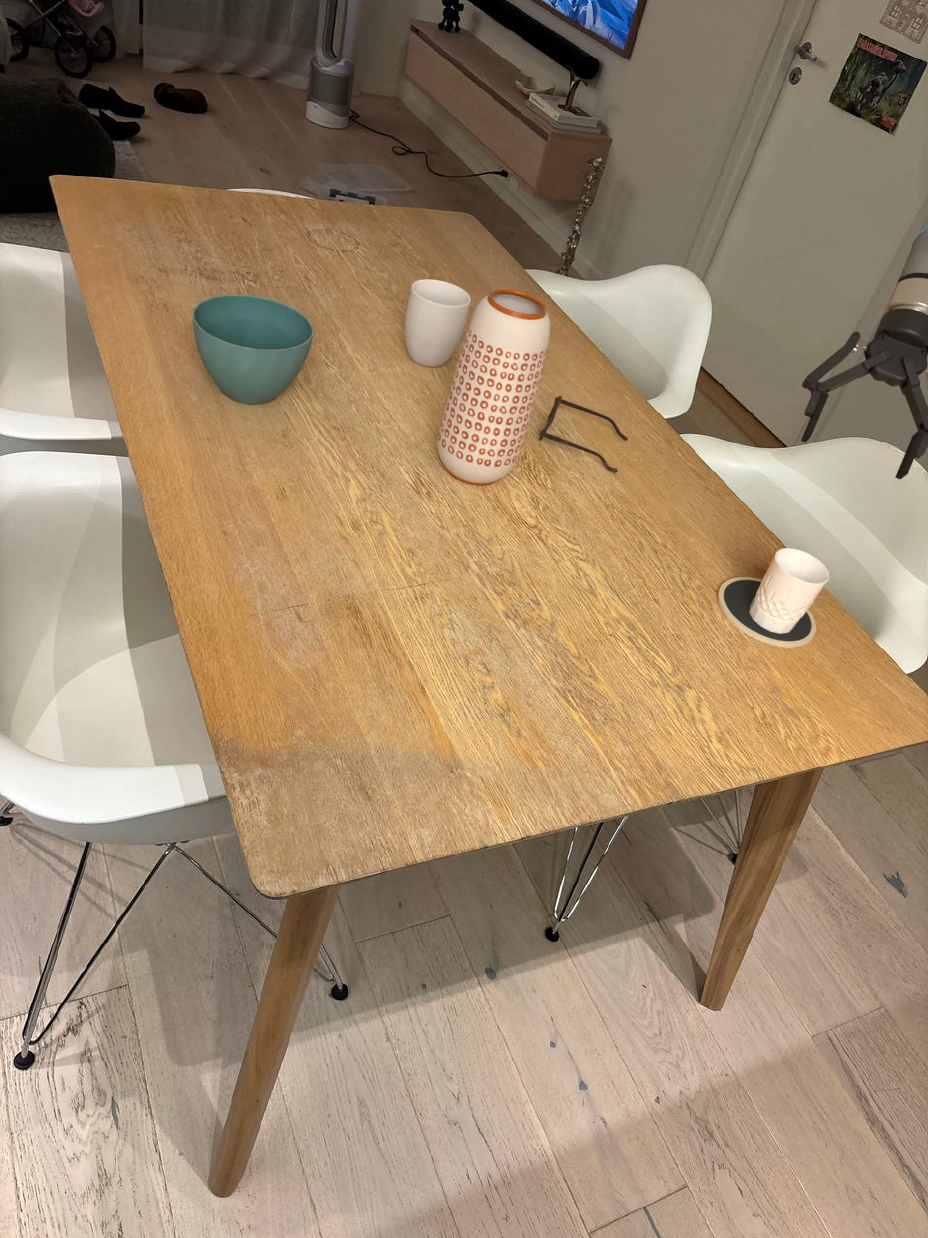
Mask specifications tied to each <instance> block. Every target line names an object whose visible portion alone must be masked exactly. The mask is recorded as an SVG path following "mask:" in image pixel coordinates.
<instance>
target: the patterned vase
mask: <svg viewBox="0 0 928 1238" xmlns="http://www.w3.org/2000/svg"><path fill="white" fill-rule="evenodd" d="M551 325H552V324H551V319H550V315H549V313H548V311H547V309H546V306H545V304H544V303H543V302H542V301H541V300H539V299H538V298H536V297H535V296H533V295H530V294H528V293H526V292H524V291H519V290H516V289H508V288H499V289H494V290H492V291H491V292H490V293H489V294H488V295H486V296H483V298H482V299H480V301H479V302H478V303H477V305H476V307H475V309H474V311H473V314H472V316H471V319H470V322H469V324H468V327H467V330H466V333H465V336H464V338H463V342H462V345H461V349H460V351H459V354H458V358H457V361H456V364H455V368H454V371H453V374H452V379H451V381H450V384H449V389H448V393H447V396H446V399H445V403H444V407H443V410H442V414H441V417H440V420H439V425H438V429H437V434H436V448H437V449H436V450H437V454H438V457H439V460H440V461H441V463H442V464H443V466H444V467H445V470H446V471H447V472H448V474H449V475H450V476H452V477H453V478H454V479H456V480H458V481H460V482H462V483H465V484H468V485H473V486H488V485H492V484H493V483H495V482H497V481H499V480H502V479H503V478H504V477H506V476H507V475H508V474H510V473H511V471H512V470H513V469H514V468H515V466H516V464H517V463H518V460H519V459H520V456H521V453H522V449H523V446H524V442H525V438H526V435H527V432H528V428H529V424H530V421H531V417H532V415H533V410H534V406H535V403H536V399H537V395H538V391H539V387H540V383H541V378H542V374H543V370H544V367H545V361H546V357H547V352H548V347H549V342H550V336H551V327H552V326H551Z"/></svg>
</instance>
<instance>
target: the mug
mask: <svg viewBox="0 0 928 1238" xmlns="http://www.w3.org/2000/svg"><path fill="white" fill-rule="evenodd" d="M407 301H408V302H407V305H406V311H405V319H404V340H405V341H404V342H405V347H406V350H407V353H408V356H409V358H410V359H411V360H412V361H413V362H414V363H416V364H418V365H420V366H424V367H428V368H440V367H442V366H443V365H445V364H446V363H447V362H448V361H449V360H450V359H451V358H452V356H453V355H454V353H455V351H456V349H457V348H458V346H459V344H460V340H461V339H462V336H463V332H464V330H465V326H466V324H467V320H468V314H469V310H470V306H471V301H472V298H471V296H470V294H469V293H468V292H467V291H466V290H465V289H463V288H462V287H460V286H458V285H455V284H453V283H451V282H447V281H443V280H439V279H430V278H429V279H427V278H426V279H419V280H416V281H414V282H413V283H412V284H411V287H410V292H409V297H408V300H407Z"/></svg>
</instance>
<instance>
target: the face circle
mask: <svg viewBox="0 0 928 1238" xmlns="http://www.w3.org/2000/svg"><path fill="white" fill-rule="evenodd" d="M762 579H763V578H757V577H751V576H737V577H732V578H729V579H727V580H725V581H724V582H723V583H722V584H721V585H720V587H719V589H718V591H717V604H718V606H719V609H720V611H721V612H722V613H723V615H724V616H725V618H726V619H727V620H728V621H729V622H730V623H731V624H732V625H733V626H735V627H736V628H737V629H738V630H740V631H741V632H742V633H744V634H745V635H747V636H749V637H750V638H752V639H754V640H757V641H759V642H761V643H764V644H766V645H770V646H772V647H776V648H785V649H795V648H801V647H803V646H806V645H808V644H809V643H811V641H812V640H813V638H814V637H815V636H816V633H817V622H816V619H815V617H814V615H813V614H812V612H811V610H810V609H809V608H808V610H807V611H806V612H805V614H804V615H803V616H802V618H800V619H799V621H798V622H797V624H796V625H795V627H794V628H793V629H792V630H791V631H790V632H789V633H783V634H779V633H774V632H770V631H768V630H766V629H764V628H762V627H761V626H759V625H758V624H757V623H756V622H755V621H754V620H753V619H752V617H751V615H750V613H749V611H750V605H751V603H752V601H753V599H754V598H755V596H756V593H757V590H758V588H759V586H760V584H761V581H762Z"/></svg>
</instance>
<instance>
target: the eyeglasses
mask: <svg viewBox="0 0 928 1238" xmlns="http://www.w3.org/2000/svg"><path fill="white" fill-rule="evenodd" d="M562 398H563V396H562V395H559V396H556V397H555V399H554V404H553V406H552V409H551V410H550V412H549V414H548V418H547V422H546V425H544V427H543V429H542V430H540V432H539V434H538V435H539V438H538V439H539V441H542V440H543V439H544V438H545V439H547V440H551V441H553V442H556V443H559V444H561V445H565V446H568V447H570V448H573V449H576V450H580V451H582V452H584V453H585V452H586V453H588V454H590V455H593V456H595V457H597V458H598V459H599V460H600V461H601V463H602V464H603V466H604V467H605V469H606V470H608V471H609V472H613V473H618V471H619V470H618V468H615V467H611V466H610V465H609V464H608V462H607V461H606V459H605V458H604V456H603V455H601V454H600V453H598V452H596V451H595V450H591V449H590V448H587V447H584V446H583V445H579V444H577V443H574V442H572V441H569V440H567V439H564V438H561V437H559V436H556V435H553V434H550V433H548V430H549V428H550V427H551V425H552V423H553V421H554V420H555V417H556V413H557V411H558V409H559V407H560V405H563V406H566V407H569V408H572V409H575V410H578V411H581V412H584V413H587V414H590V415H593V416H595V417H599V418H601V419H604V420H605V421H608V422H609V423H610V424H611V425H612V427H613V429H614V431H615V433H616V434H617V435H618V436H619V437H620V438H621V439H623V440H624V441H625V442H626V441H628V440H629V438H628V436H626V435H624V434H623V433H622V432H621V431H620V429H619V427H618V426H617V424H616V423H615V421H614V420H613V419H612V418H610V417H609V416H607V415H605V414H602V413H600V412H597V411H595V410H592V409H590V408H587V407H584V406H581V405H579V404H577V403H573V402H571V401H568V400H566V399H562Z"/></svg>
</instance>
